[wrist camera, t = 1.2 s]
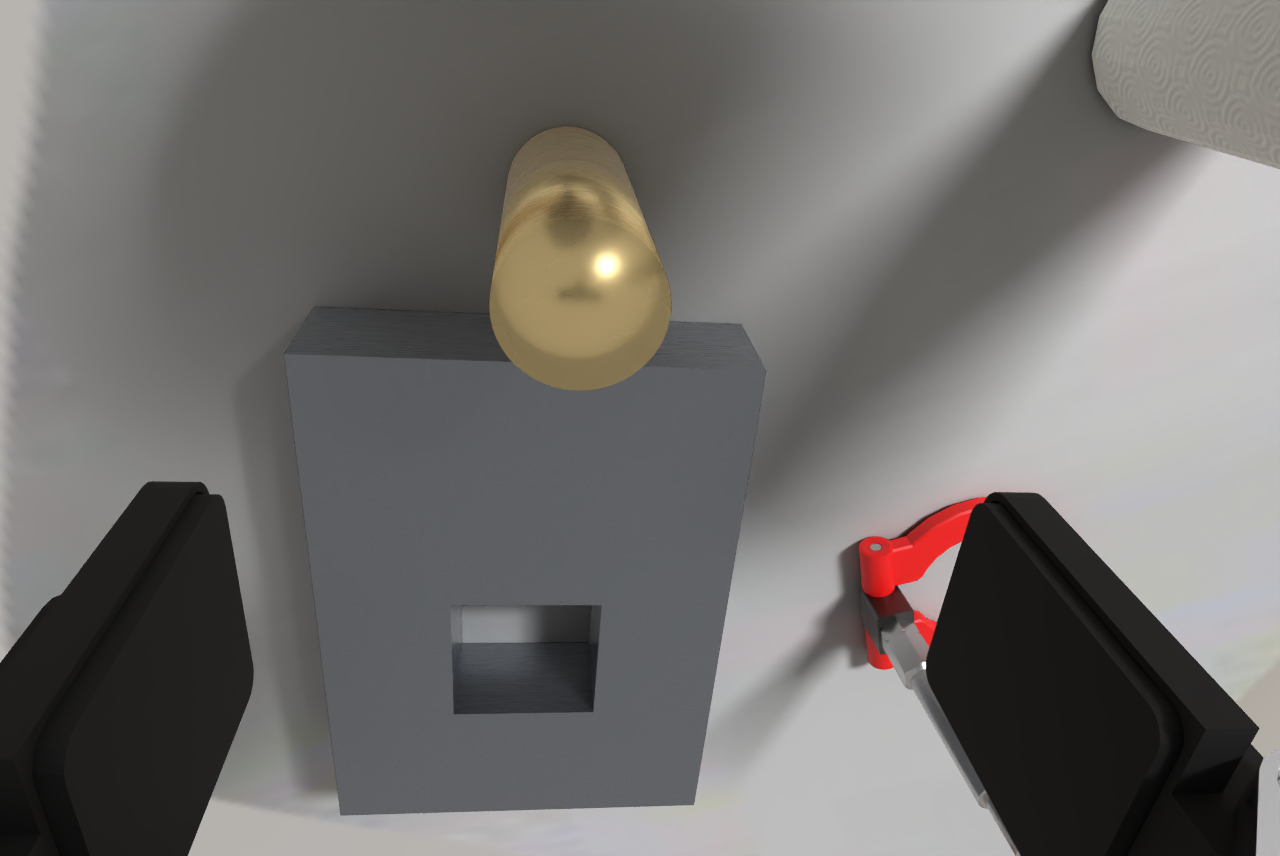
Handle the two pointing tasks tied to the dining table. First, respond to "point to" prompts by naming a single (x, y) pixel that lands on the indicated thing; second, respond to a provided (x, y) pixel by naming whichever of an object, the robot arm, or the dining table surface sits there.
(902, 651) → the tow hook
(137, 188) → the dining table surface
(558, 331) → the brass pin
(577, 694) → the grey block with hole
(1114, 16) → the paper towel roll
